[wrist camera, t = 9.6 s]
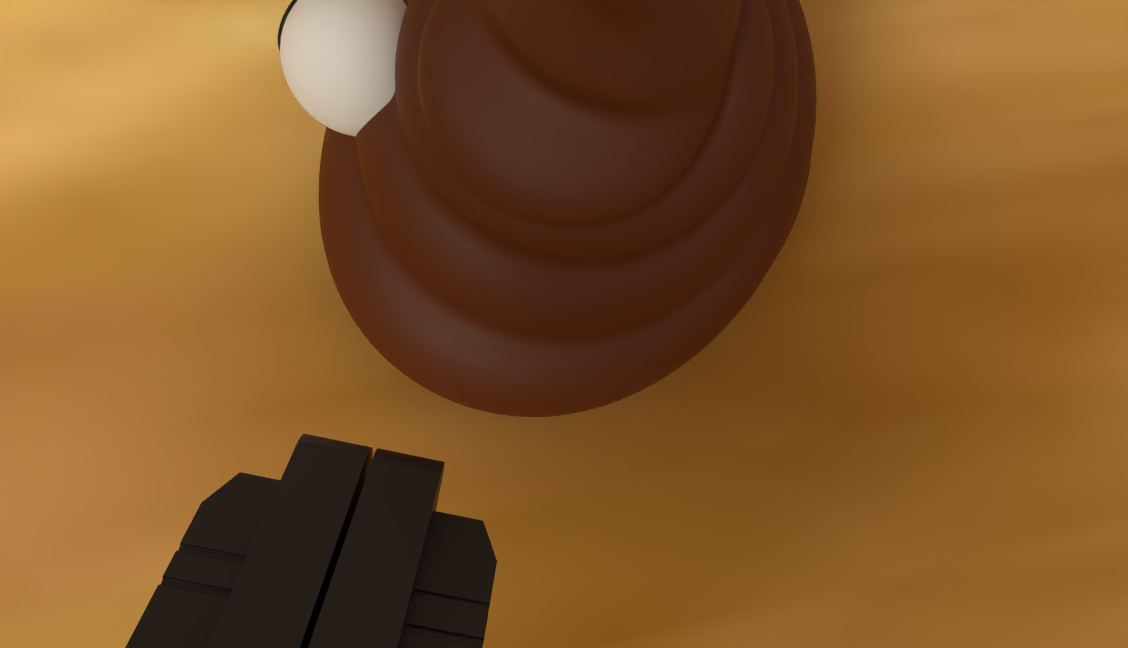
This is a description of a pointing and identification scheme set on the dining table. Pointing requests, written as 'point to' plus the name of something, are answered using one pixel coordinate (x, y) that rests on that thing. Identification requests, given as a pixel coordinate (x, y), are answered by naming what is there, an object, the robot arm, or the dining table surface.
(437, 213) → the poop emoji
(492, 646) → the dining table surface
